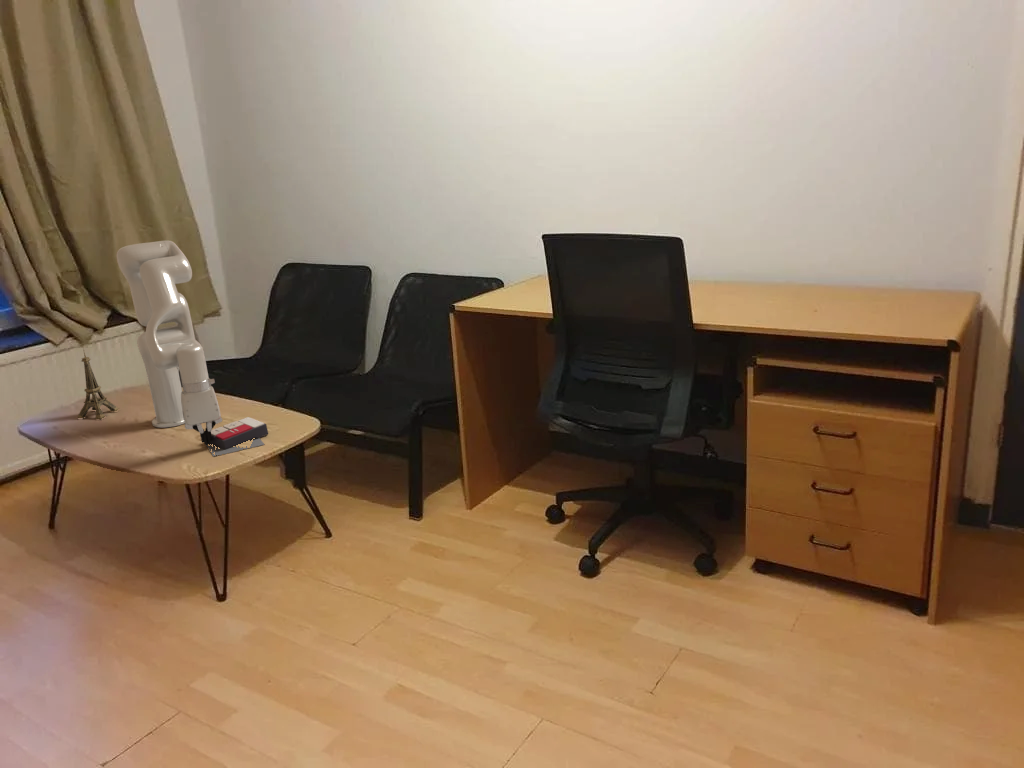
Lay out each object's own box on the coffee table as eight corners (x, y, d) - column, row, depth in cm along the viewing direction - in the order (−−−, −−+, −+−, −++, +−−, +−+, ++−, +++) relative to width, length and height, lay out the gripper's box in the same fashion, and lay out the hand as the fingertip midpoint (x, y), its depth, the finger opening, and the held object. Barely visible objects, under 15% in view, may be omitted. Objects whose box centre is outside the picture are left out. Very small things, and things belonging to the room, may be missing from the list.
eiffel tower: (96, 409, 287) (80, 342, 280) (121, 409, 285) (106, 342, 278) (75, 420, 278) (58, 350, 270) (101, 420, 275) (85, 350, 268)
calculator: (204, 431, 247) (248, 414, 257) (207, 444, 248) (251, 427, 258) (221, 438, 239) (266, 421, 249) (224, 452, 241) (269, 434, 251)
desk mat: (203, 440, 250) (203, 440, 250) (252, 429, 257) (252, 429, 257) (213, 456, 236) (213, 456, 236) (264, 444, 243) (264, 444, 243)
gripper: (220, 378, 244) (230, 434, 249) (167, 388, 237) (179, 445, 243) (224, 383, 238) (235, 441, 243) (171, 394, 231) (183, 453, 236)
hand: (207, 443), depth 243 cm, fingers closed
